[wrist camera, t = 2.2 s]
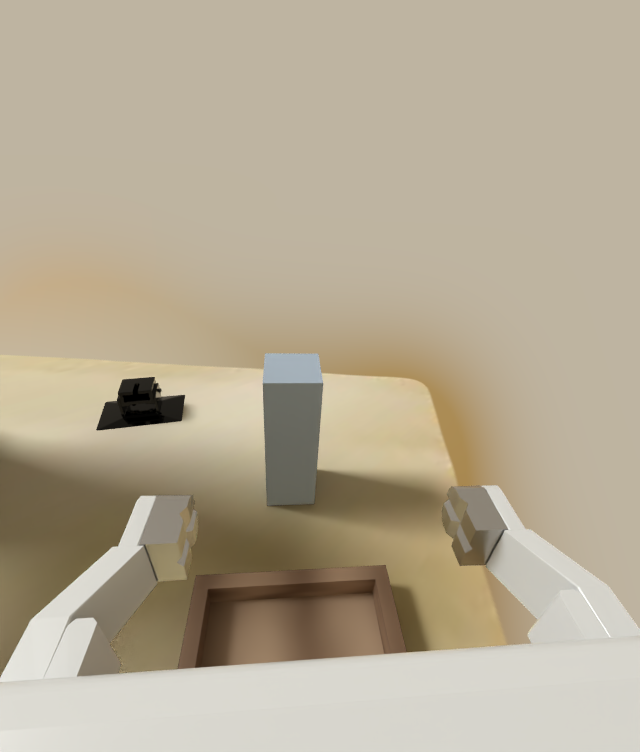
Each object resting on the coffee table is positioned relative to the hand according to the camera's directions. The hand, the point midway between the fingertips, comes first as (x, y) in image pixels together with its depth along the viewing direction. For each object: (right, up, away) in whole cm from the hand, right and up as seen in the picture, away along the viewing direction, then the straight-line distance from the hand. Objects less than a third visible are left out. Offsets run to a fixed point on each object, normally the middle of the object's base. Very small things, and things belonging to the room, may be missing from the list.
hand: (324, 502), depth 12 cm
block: (-3, -7, +25) cm, 26 cm away
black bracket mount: (-22, -1, +34) cm, 41 cm away
